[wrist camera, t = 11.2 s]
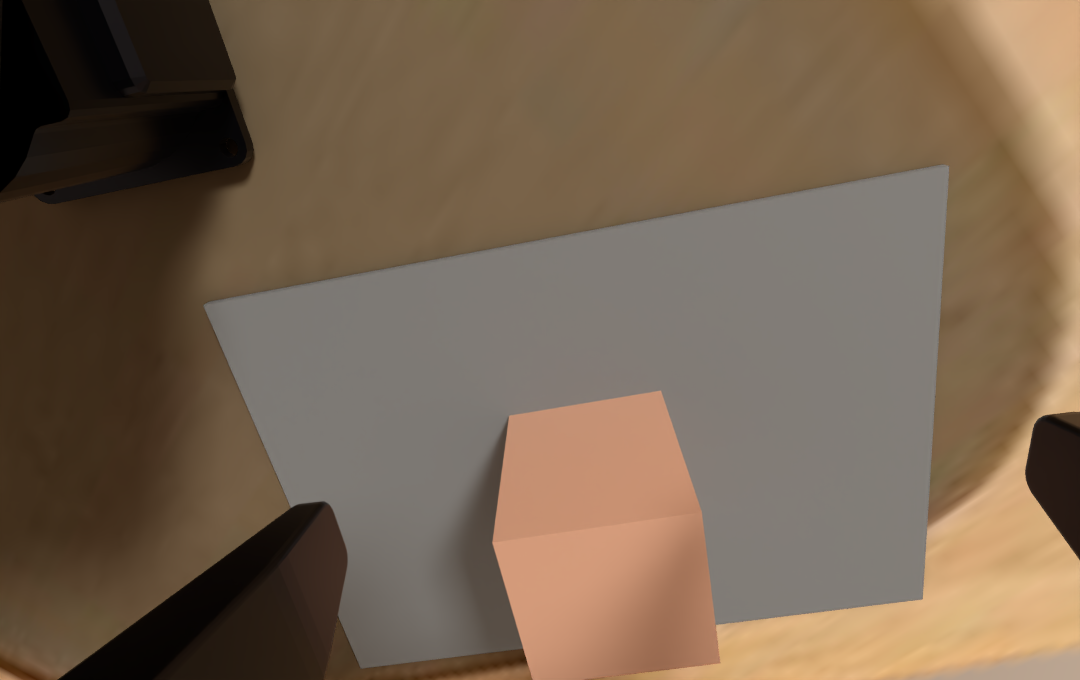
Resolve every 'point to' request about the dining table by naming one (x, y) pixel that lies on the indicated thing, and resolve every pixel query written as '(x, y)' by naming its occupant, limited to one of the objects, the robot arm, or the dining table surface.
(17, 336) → the dining table surface
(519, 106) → the dining table surface
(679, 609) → the block
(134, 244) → the dining table surface
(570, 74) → the dining table surface
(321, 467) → the mat
